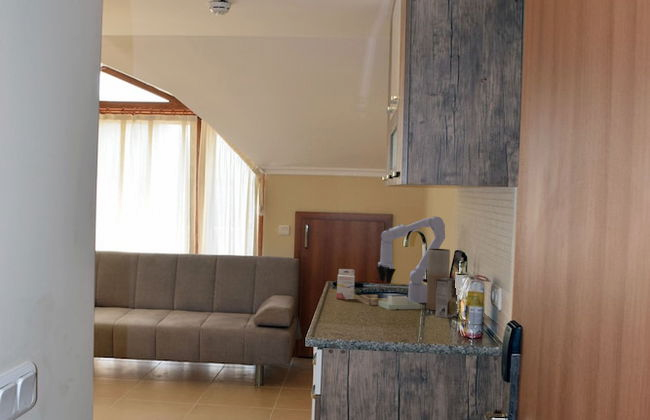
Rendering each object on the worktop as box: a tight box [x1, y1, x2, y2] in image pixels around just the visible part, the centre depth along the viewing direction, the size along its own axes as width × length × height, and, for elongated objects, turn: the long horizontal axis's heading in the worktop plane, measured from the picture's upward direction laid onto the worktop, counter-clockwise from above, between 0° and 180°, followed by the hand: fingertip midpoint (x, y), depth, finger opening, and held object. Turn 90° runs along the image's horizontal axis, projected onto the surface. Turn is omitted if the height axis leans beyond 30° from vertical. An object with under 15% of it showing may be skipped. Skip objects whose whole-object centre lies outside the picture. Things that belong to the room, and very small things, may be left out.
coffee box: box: [434, 277, 457, 319], centre depth 274 cm, size 9×6×16 cm
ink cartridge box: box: [336, 268, 356, 300], centre depth 316 cm, size 9×5×15 cm, turn 84°
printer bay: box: [358, 294, 388, 306], centre depth 305 cm, size 10×13×3 cm
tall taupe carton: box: [425, 248, 451, 311], centre depth 292 cm, size 10×10×28 cm
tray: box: [377, 300, 422, 311], centre depth 294 cm, size 16×12×2 cm
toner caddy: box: [387, 294, 408, 304], centre depth 294 cm, size 8×5×5 cm, turn 109°
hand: (385, 281), depth 314 cm, fingers open, 7 cm apart
